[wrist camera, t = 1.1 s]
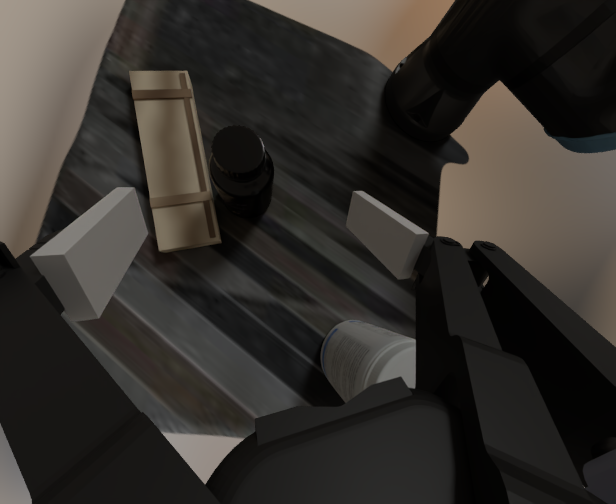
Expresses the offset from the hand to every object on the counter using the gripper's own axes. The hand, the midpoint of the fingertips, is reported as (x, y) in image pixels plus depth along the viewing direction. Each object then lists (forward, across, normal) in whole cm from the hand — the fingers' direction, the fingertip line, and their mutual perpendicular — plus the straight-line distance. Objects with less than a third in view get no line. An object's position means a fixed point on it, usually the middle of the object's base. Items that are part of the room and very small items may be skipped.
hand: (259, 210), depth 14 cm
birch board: (+22, -8, -2) cm, 24 cm away
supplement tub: (+3, +13, -23) cm, 27 cm away
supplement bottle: (+19, 0, -6) cm, 19 cm away
